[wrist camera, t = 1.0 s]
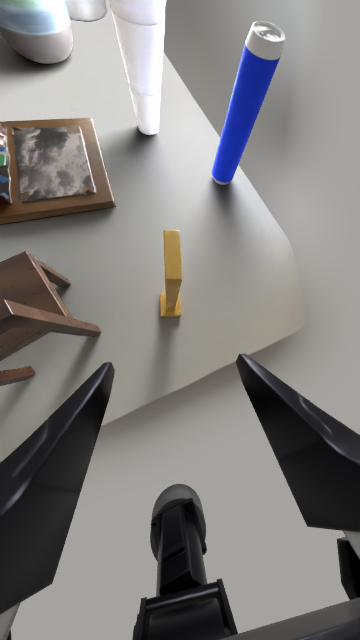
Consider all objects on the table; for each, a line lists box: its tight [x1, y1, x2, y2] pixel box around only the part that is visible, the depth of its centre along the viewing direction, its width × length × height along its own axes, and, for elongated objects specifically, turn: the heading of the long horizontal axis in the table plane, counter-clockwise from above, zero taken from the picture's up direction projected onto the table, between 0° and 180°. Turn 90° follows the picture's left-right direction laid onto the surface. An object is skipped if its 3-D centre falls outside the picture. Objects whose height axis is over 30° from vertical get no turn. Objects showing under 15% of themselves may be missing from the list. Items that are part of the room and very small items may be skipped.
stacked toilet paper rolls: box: [109, 0, 166, 135], centre depth 24 cm, size 11×11×18 cm
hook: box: [160, 230, 182, 317], centre depth 18 cm, size 6×4×12 cm, turn 3°
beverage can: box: [212, 21, 285, 185], centre depth 24 cm, size 5×5×15 cm
